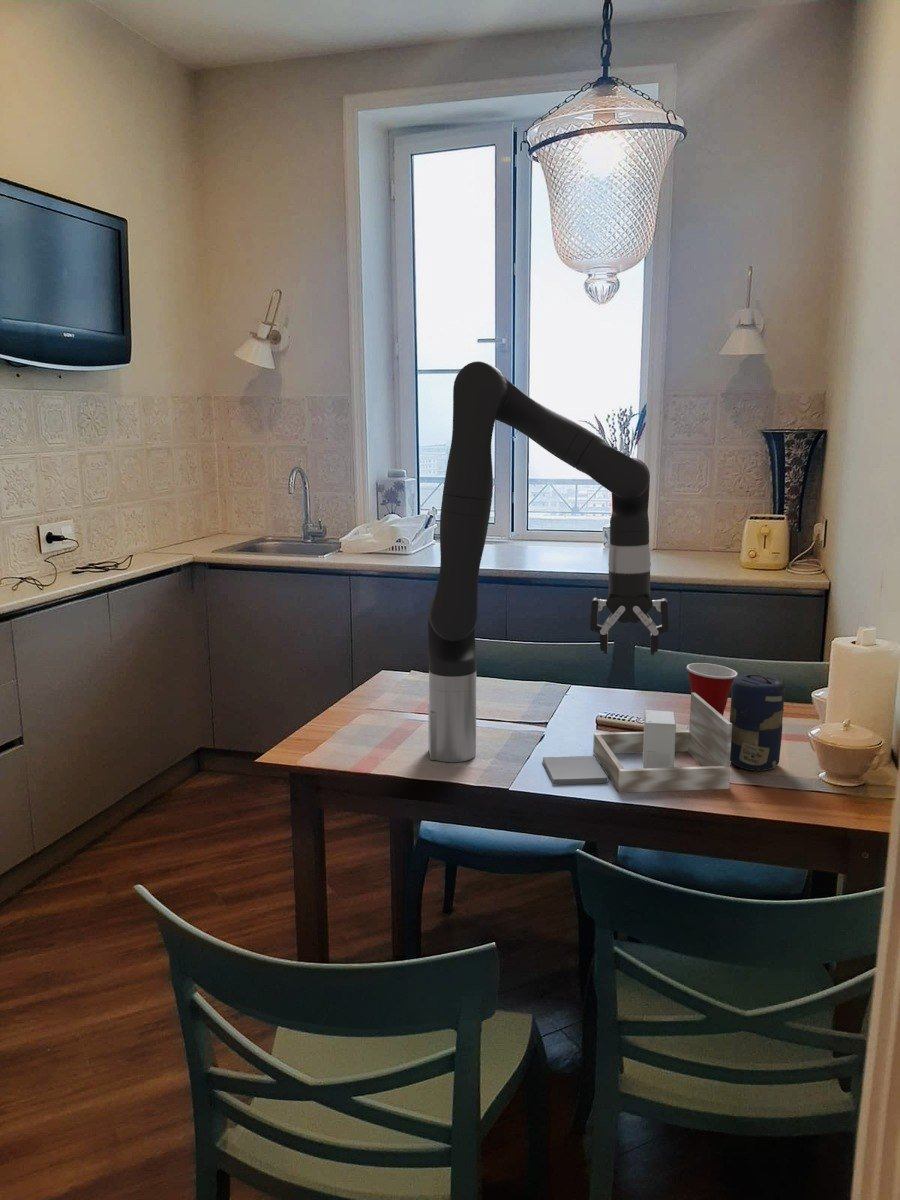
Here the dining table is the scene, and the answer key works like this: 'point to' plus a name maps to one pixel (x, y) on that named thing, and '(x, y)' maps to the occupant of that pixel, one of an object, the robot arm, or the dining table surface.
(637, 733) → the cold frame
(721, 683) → the plastic cup
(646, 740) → the small box
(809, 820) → the dining table surface
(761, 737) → the canister
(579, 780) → the slate tile
